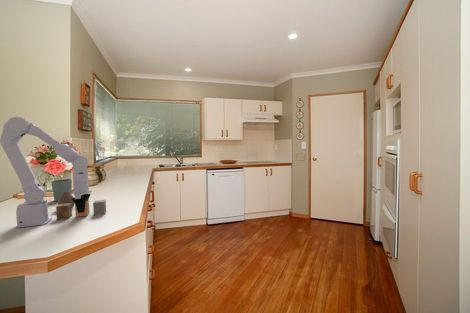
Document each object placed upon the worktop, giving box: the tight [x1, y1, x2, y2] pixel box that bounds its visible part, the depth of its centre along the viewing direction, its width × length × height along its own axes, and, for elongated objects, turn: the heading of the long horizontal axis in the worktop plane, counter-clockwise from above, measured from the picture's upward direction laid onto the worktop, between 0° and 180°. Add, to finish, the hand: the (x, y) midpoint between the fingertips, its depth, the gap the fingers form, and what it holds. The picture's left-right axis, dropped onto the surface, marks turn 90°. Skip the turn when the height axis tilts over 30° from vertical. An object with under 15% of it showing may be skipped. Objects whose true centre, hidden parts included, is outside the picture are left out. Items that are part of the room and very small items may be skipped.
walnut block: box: [55, 203, 73, 221], centre depth 103 cm, size 4×4×6 cm
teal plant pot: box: [50, 178, 73, 202], centre depth 139 cm, size 10×10×12 cm
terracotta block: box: [74, 199, 90, 217], centre depth 106 cm, size 4×4×6 cm
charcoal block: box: [92, 199, 107, 216], centre depth 108 cm, size 4×4×6 cm
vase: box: [57, 192, 75, 209], centre depth 117 cm, size 7×7×9 cm
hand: (82, 211), depth 106 cm, fingers closed on terracotta block, 4 cm apart
